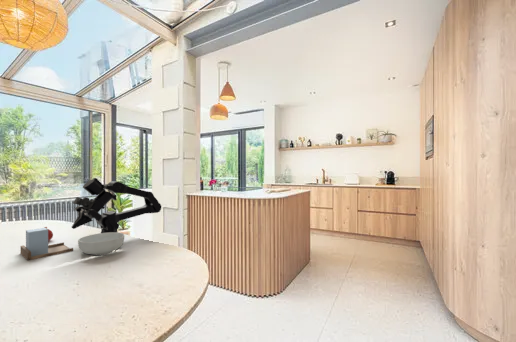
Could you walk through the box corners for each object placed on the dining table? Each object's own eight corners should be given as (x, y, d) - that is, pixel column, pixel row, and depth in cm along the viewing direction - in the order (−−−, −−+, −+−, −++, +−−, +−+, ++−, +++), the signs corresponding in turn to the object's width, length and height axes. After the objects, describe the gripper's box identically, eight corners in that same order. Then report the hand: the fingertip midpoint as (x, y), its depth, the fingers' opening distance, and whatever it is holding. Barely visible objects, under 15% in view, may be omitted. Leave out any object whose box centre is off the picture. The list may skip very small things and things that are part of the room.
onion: (45, 245, 114) (45, 228, 114) (33, 245, 114) (33, 228, 114) (56, 241, 120) (55, 225, 120) (44, 241, 120) (44, 225, 120)
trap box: (63, 246, 113) (63, 238, 112) (73, 252, 105) (73, 243, 105) (20, 255, 101) (20, 245, 101) (27, 263, 93) (27, 252, 93)
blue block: (45, 250, 104) (44, 227, 104) (48, 253, 101) (48, 229, 101) (26, 254, 99) (25, 230, 99) (28, 257, 96) (28, 232, 96)
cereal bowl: (132, 247, 112) (132, 232, 112) (106, 260, 96) (106, 243, 96) (98, 246, 114) (98, 231, 114) (67, 259, 98) (67, 241, 97)
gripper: (79, 189, 120) (50, 215, 111) (94, 192, 108) (63, 220, 100) (97, 203, 126) (71, 228, 117) (113, 207, 115) (85, 235, 106)
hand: (72, 228), depth 110 cm, fingers closed
